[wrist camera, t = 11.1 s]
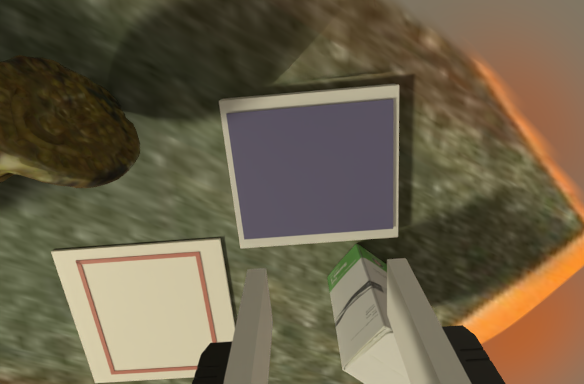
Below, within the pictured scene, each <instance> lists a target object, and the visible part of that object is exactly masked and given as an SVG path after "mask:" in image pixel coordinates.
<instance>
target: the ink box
mask: <svg viewBox="0 0 584 384" xmlns="http://www.w3.org/2000/svg"><path fill="white" fill-rule="evenodd" d="M328 285H329V290H330V296H331V302H332V308H333V314H334V320H335V326H336V332H337V338H338V344H339V351H340V357H341V363H342V369H343V371H345V372H347V373H349V374H350V375H352V376H353V377H355V378H357V379H358V380H360V381H361V382H363V383H364V384H411V383H410V380H409V377H408V374H407V371H406V368H405V365H404V362H403V359H402V357H401V354H400V351H399V348H398V345H397V342H396V339H395V336H394V333H393V330H392V327H391V325H390V322H389V319H388V316H387V264H385V263H384V262H383V261H381V260H380V259H378V258H377V257H376V256H374V255H373V254H371V253H370V252H369V251H367V250H366V249H364V248H363V247H362V246H360V245H359V244H355V246H354V247H353V248H352V249H351V250H350V251H349V252H348V253H347V254H346V255H345V256H344V258H343V259H342V260H341V261H340V262H339V263H338V264H337V265H336V267H335V268H334V269H333V270H332V272H331V273H330V274H329V276H328ZM440 325H441V324H440Z"/></svg>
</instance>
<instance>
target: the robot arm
mask: <svg viewBox="0 0 584 384" xmlns="http://www.w3.org/2000/svg"><path fill="white" fill-rule="evenodd" d="M387 316H388V319H389V322H390V325H391V327H392V330H393V333H394V336H395V339H396V342H397V345H398V348H399V351H400V354H401V357H402V359H403V362H404V365H405V368H406V371H407V374H408V377H409V380H410V383H411V384H505V382H504V381H503V379H502V378H501V376H500V374H499V373H498V371H497V370H496V368H495V366H494V365H493V363H492V362H491V361H490V359H489V357H488V355H487V354H486V352H485V351H484V350H483V347H482V346H481V344H480V342H479V341H478V339H477V337H476V336H475V335H474V334H473V333H471V332H470V331H469V330H468V329H466V328H465V327H464V326H463V325H462V326H447V327H442V326H441V325H440V323H439V321H438V319H437V317H436V315H435V313H434V311H433V309H432V307H431V305H430V304H429V302H428V300H427V298H426V296H425V294H424V292H423V290H422V288H421V286H420V284H419V282H418V281H417V279H416V277H415V275H414V273H413V271H412V269H411V267H410V265H409V263H408V261H407V260H406V258H400V259H387ZM272 326H273V320H272V312H271V304H270V296H269V288H268V280H267V272H266V268H260V269H248V270H247V275H246V280H245V284H244V289H243V294H242V299H241V303H240V308H239V313H238V317H237V322H236V327H235V331H234V336H233V341H230V342H215V343H210V344H209V345H208V346H207V348H206V349H205V350H204V351H203V352H202V354H201V356H200V359H199V362H198V366H197V369H196V372H195V376H194V380H193V382H192V384H268V375H269V363H270V351H271V338H272Z"/></svg>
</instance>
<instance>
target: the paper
mask: <svg viewBox="0 0 584 384" xmlns="http://www.w3.org/2000/svg"><path fill="white" fill-rule="evenodd" d="M51 253H52V256H53V259H54V262H55V265H56V268H57V271H58V274H59V277H60V280H61V283H62V286H63V289H64V292H65V295H66V298H67V301H68V304H69V307H70V310H71V313H72V315H73V318H74V321H75V324H76V327H77V330H78V333H79V336H80V339H81V342H82V345H83V348H84V351H85V354H86V357H87V360H88V363H89V366H90V369H91V372H92V375H93V378H94V381H95V383H104V382H121V381H138V380H155V379H172V378H189V377H194V376H195V372H196V369H197V366H198V362H199V359H200V356H201V354H202V352H203V351H204V350H205V349H206V348H207V346H208V345H209V344H210V343H215V342H230V341H233V336H234V331H235V322H234V316H233V310H232V304H231V298H230V292H229V286H228V280H227V274H226V268H225V262H224V256H223V250H222V244H221V238H213V239H199V240H185V241H172V242H158V243H144V244H131V245H117V246H103V247H90V248H76V249H62V250H52V251H51Z"/></svg>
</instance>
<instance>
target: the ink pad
mask: <svg viewBox="0 0 584 384" xmlns="http://www.w3.org/2000/svg"><path fill="white" fill-rule="evenodd" d="M219 107H220V113H221V120H222V127H223V134H224V140H225V147H226V154H227V161H228V167H229V174H230V181H231V187H232V194H233V201H234V208H235V214H236V221H237V228H238V235H239V241H240V248H253V247H267V246H281V245H295V244H309V243H323V242H337V241H350V240H364V239H378V238H392V237H398V180H399V85H398V84H384V85H373V86H361V87H350V88H339V89H327V90H316V91H305V92H293V93H282V94H271V95H259V96H248V97H236V98H225V99H221V100H219Z"/></svg>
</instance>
